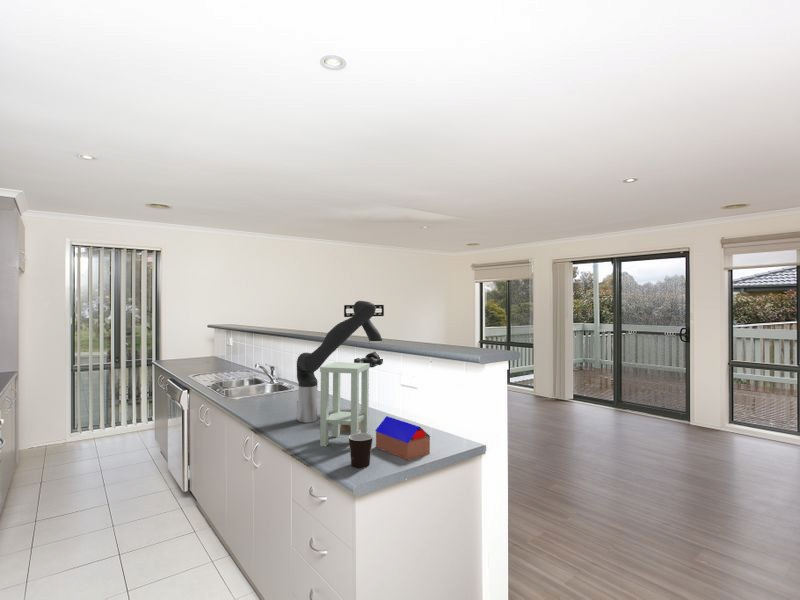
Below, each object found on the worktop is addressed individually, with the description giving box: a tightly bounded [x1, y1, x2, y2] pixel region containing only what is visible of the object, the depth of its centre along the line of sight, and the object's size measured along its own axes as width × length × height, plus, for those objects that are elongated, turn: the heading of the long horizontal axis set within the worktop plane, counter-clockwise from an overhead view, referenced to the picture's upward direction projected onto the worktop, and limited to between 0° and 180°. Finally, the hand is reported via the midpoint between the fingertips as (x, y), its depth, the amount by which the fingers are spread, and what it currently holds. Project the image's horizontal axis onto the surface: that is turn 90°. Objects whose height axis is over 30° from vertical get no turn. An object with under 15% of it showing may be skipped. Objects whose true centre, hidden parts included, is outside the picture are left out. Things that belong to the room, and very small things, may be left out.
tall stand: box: [319, 361, 371, 448], centre depth 178 cm, size 16×16×32 cm
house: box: [374, 416, 431, 461], centre depth 169 cm, size 12×20×12 cm, turn 40°
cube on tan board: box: [340, 410, 361, 433], centre depth 202 cm, size 8×20×6 cm, turn 167°
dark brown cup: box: [348, 432, 374, 469], centre depth 154 cm, size 12×9×10 cm
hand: (364, 363), depth 214 cm, fingers open, 8 cm apart
